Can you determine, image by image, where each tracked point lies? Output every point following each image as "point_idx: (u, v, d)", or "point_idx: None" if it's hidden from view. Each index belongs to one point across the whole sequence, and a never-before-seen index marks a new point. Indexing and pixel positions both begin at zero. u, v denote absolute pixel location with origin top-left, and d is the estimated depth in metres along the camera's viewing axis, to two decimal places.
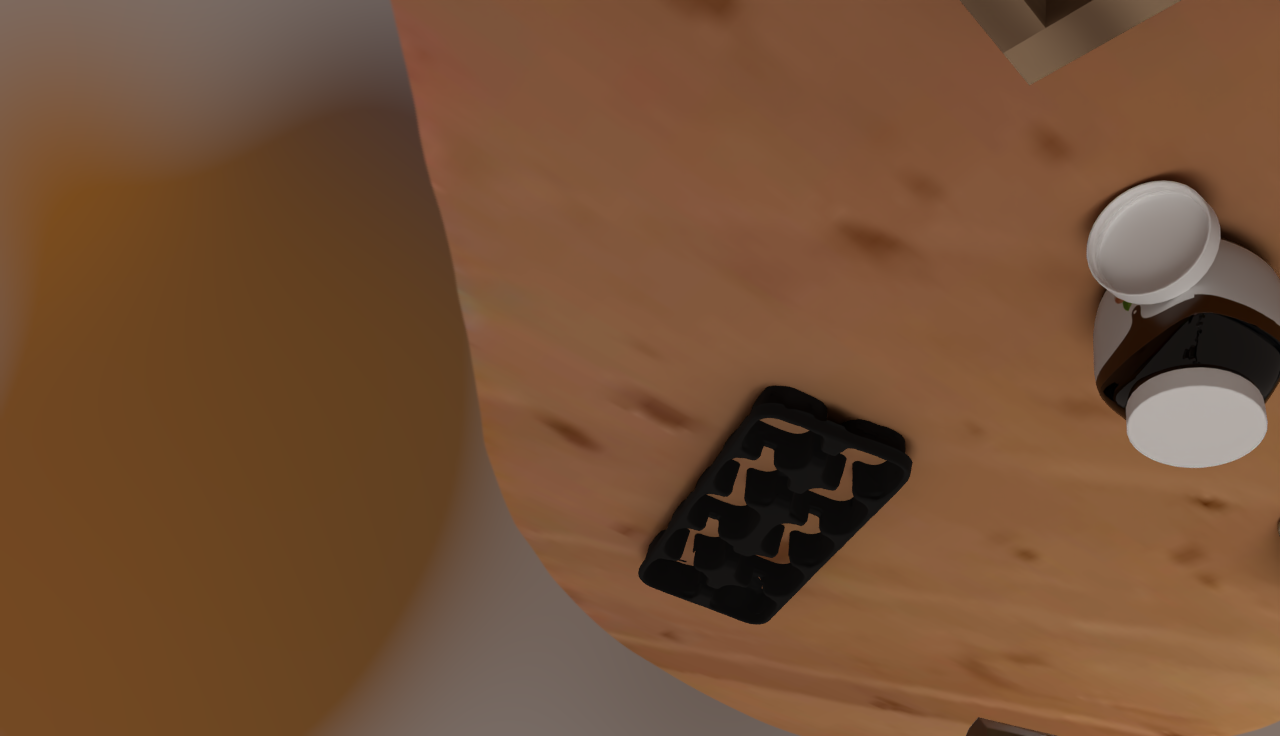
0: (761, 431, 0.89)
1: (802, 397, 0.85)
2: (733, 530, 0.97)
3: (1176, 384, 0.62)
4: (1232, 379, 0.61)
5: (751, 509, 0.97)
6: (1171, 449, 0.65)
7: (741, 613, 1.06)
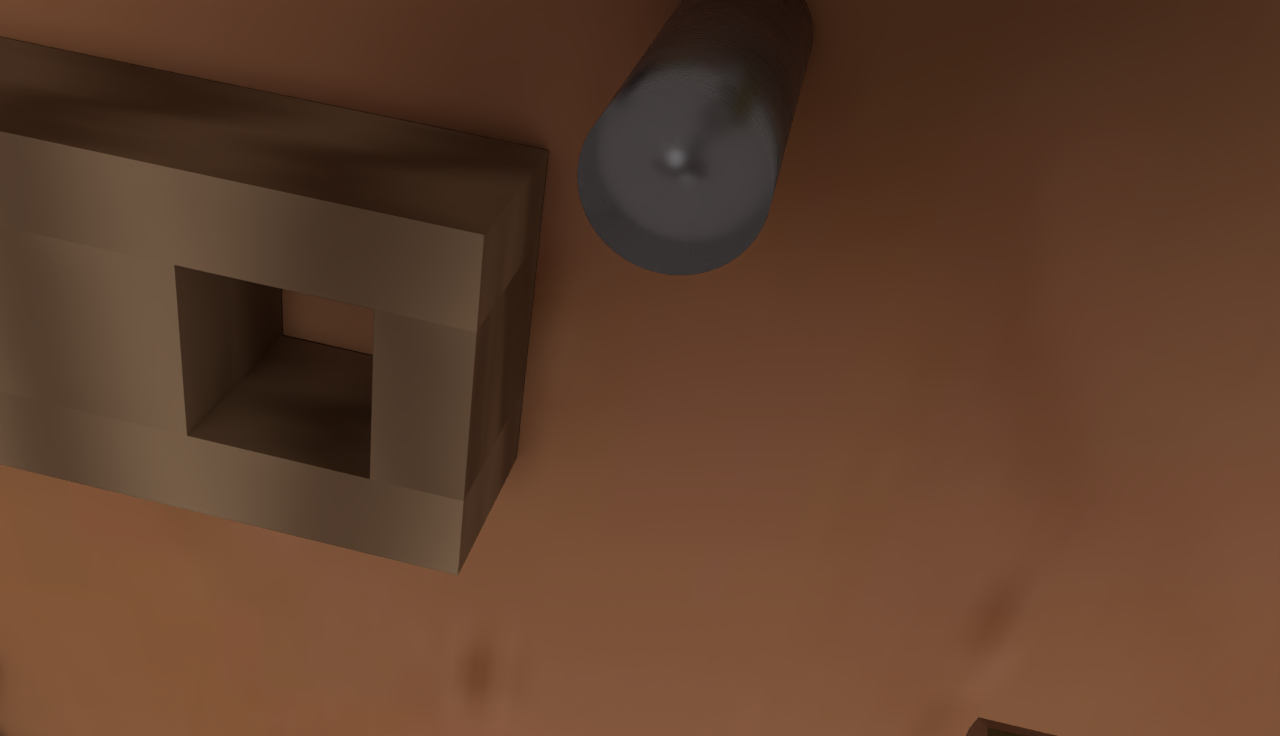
0: None
1: None
2: None
3: None
4: None
5: None
6: None
7: None
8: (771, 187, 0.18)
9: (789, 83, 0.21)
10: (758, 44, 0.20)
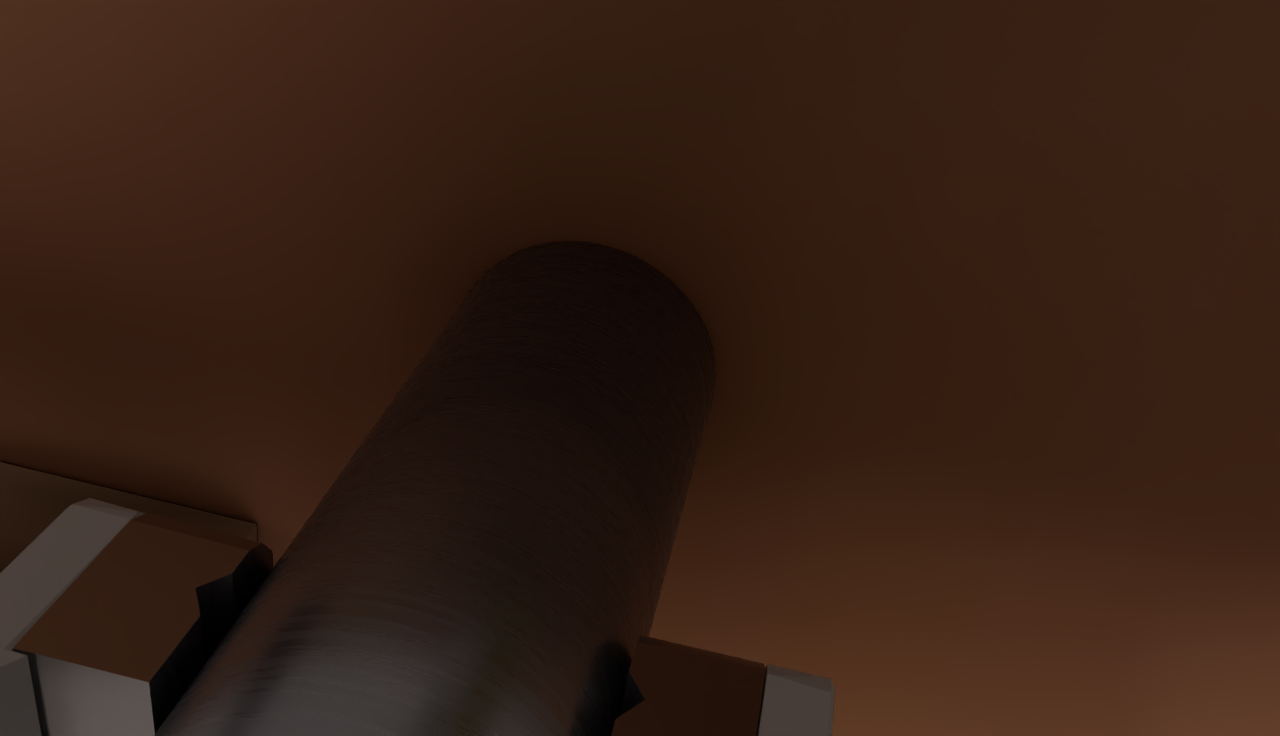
0: None
1: None
2: None
3: None
4: None
5: None
6: None
7: None
8: None
9: (608, 671, 0.08)
10: (520, 603, 0.08)
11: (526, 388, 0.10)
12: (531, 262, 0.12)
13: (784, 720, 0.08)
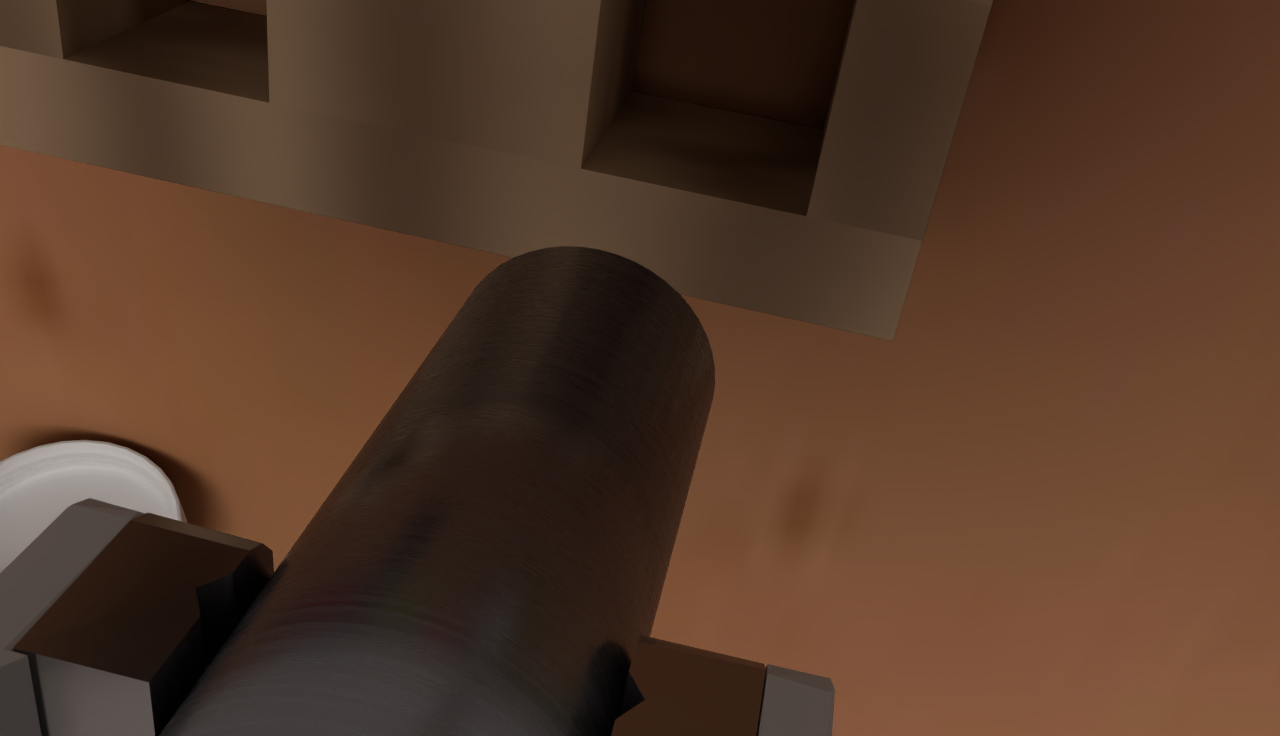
0: None
1: None
2: None
3: None
4: None
5: None
6: None
7: None
8: None
9: (607, 677, 0.08)
10: (520, 609, 0.08)
11: (526, 392, 0.10)
12: (530, 266, 0.12)
13: (784, 720, 0.08)
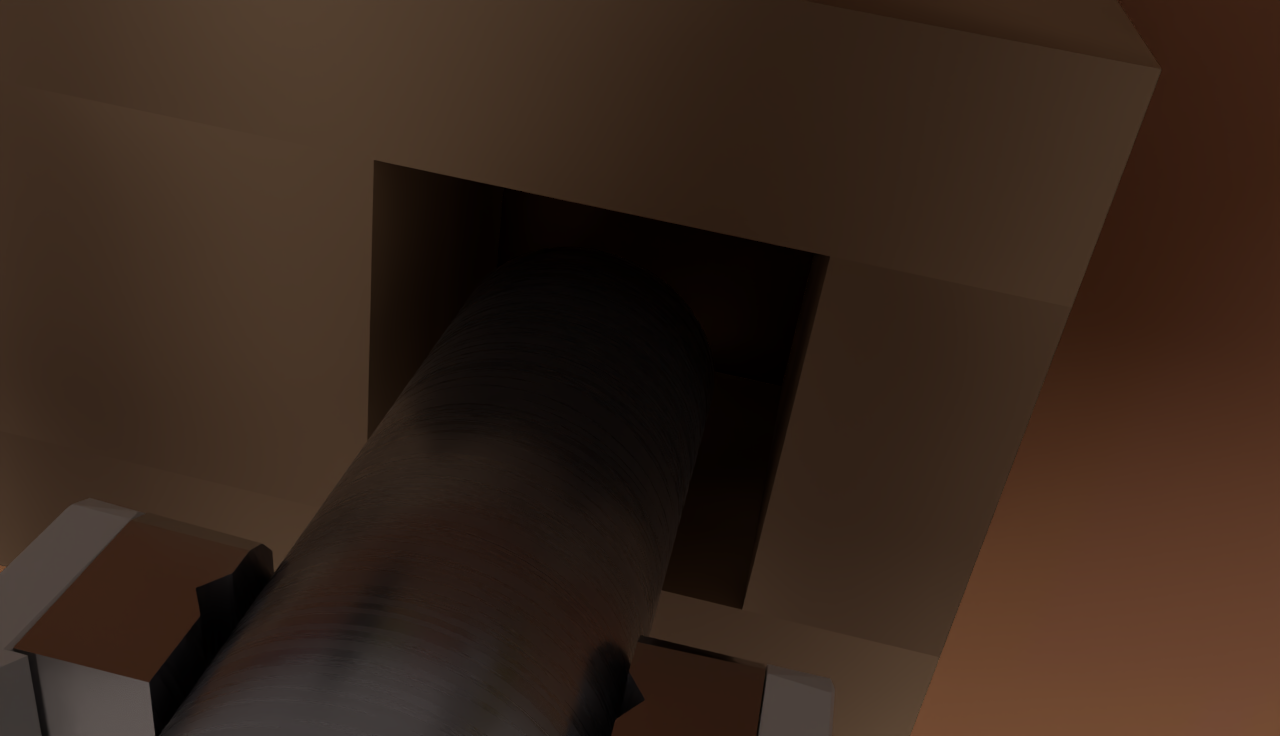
0: None
1: None
2: None
3: None
4: None
5: None
6: None
7: None
8: None
9: (606, 678, 0.09)
10: (520, 610, 0.08)
11: (525, 395, 0.10)
12: (529, 267, 0.12)
13: (784, 721, 0.08)
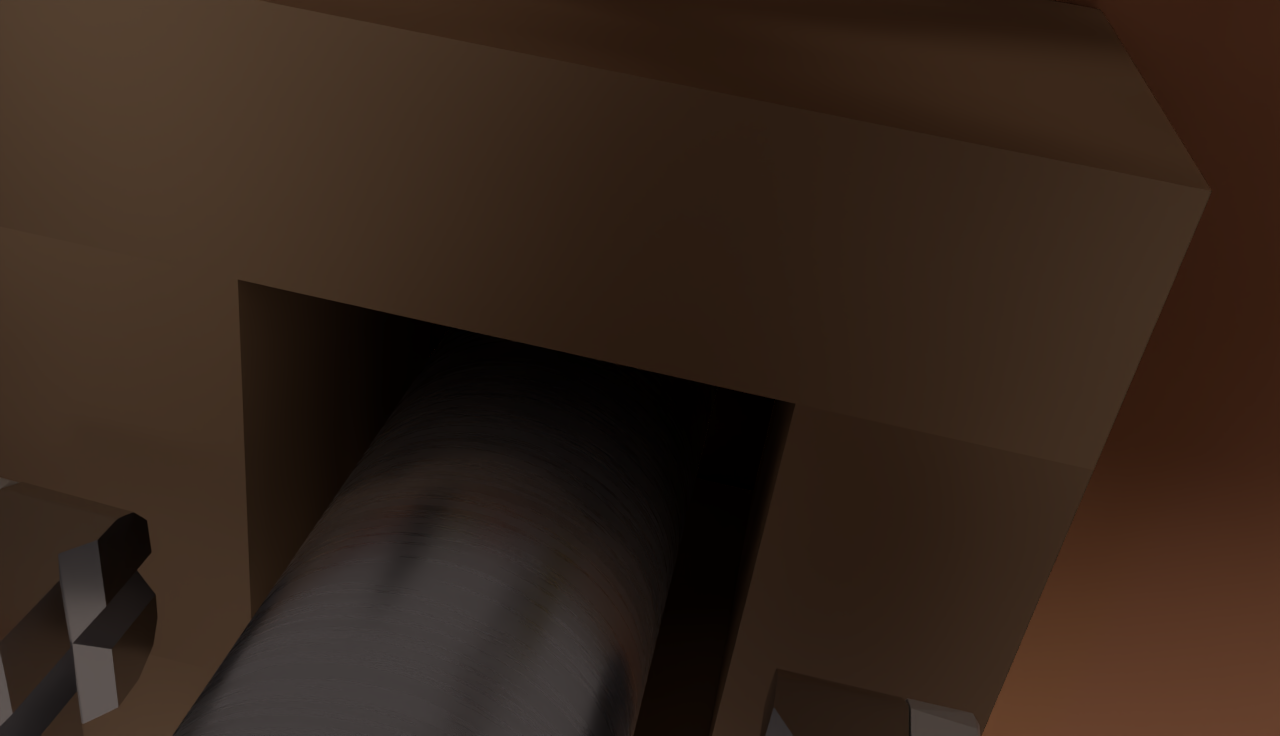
0: None
1: None
2: None
3: None
4: None
5: None
6: None
7: None
8: None
9: (654, 546, 0.10)
10: (581, 482, 0.09)
11: None
12: None
13: None
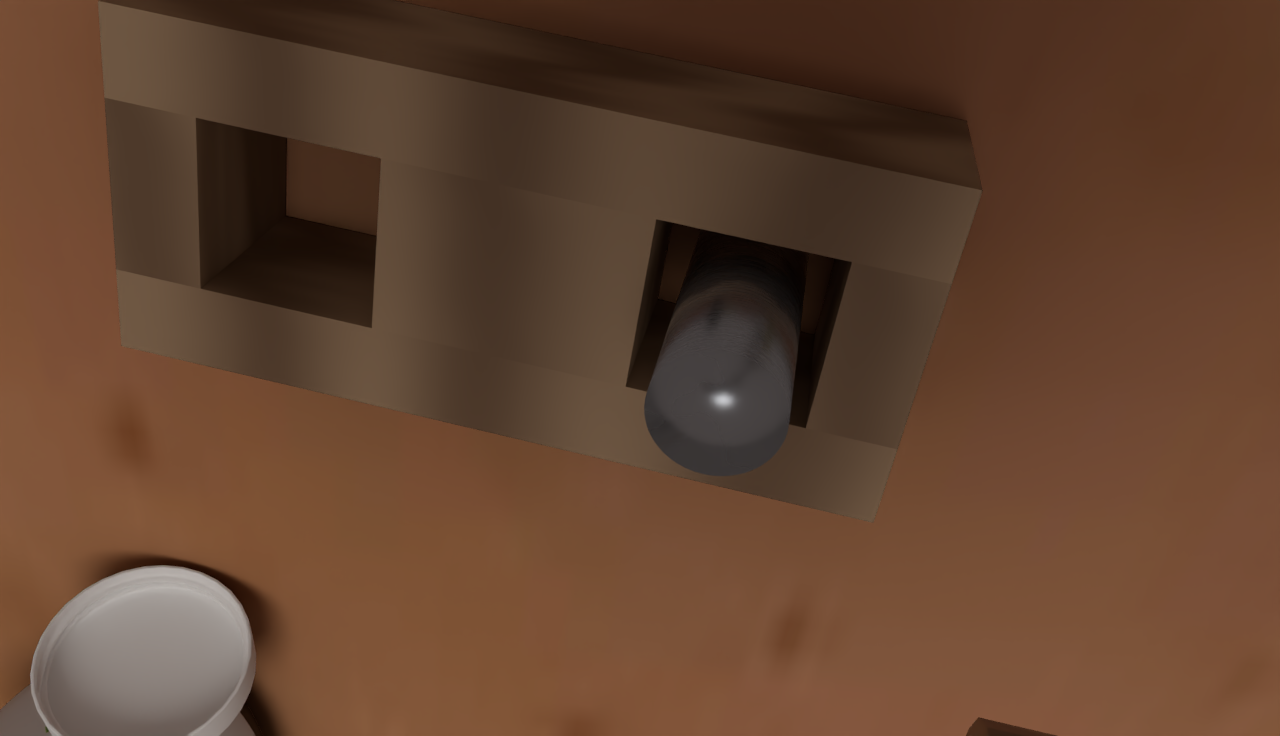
0: None
1: None
2: None
3: None
4: None
5: None
6: None
7: None
8: (788, 419, 0.24)
9: (797, 316, 0.27)
10: (774, 290, 0.27)
11: None
12: None
13: None
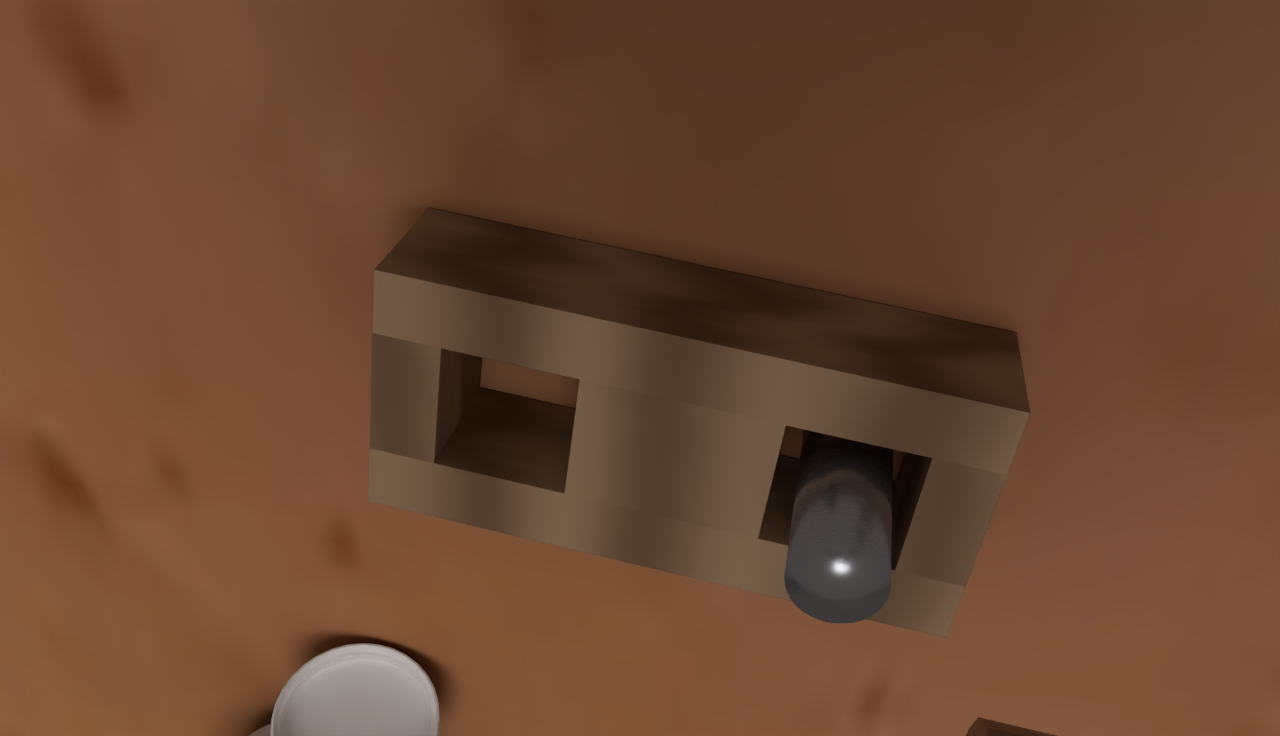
0: None
1: None
2: None
3: None
4: None
5: None
6: None
7: None
8: (890, 586, 0.34)
9: (890, 494, 0.37)
10: (874, 477, 0.36)
11: None
12: None
13: None
